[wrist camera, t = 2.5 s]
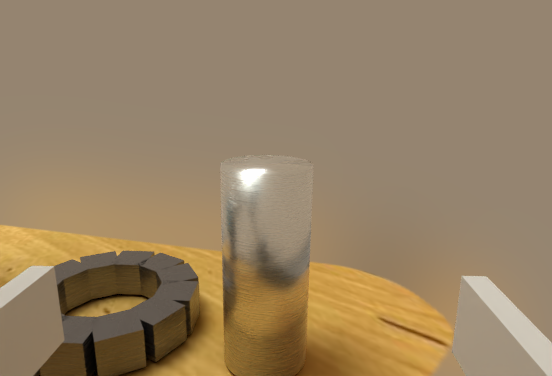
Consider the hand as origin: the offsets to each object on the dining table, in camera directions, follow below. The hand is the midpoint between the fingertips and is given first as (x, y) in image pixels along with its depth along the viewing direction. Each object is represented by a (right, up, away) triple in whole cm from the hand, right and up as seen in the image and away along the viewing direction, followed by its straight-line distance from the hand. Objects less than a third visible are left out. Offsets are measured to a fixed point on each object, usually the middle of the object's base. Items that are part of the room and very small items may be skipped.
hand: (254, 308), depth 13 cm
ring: (-11, -5, +15) cm, 20 cm away
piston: (0, -6, +12) cm, 14 cm away
